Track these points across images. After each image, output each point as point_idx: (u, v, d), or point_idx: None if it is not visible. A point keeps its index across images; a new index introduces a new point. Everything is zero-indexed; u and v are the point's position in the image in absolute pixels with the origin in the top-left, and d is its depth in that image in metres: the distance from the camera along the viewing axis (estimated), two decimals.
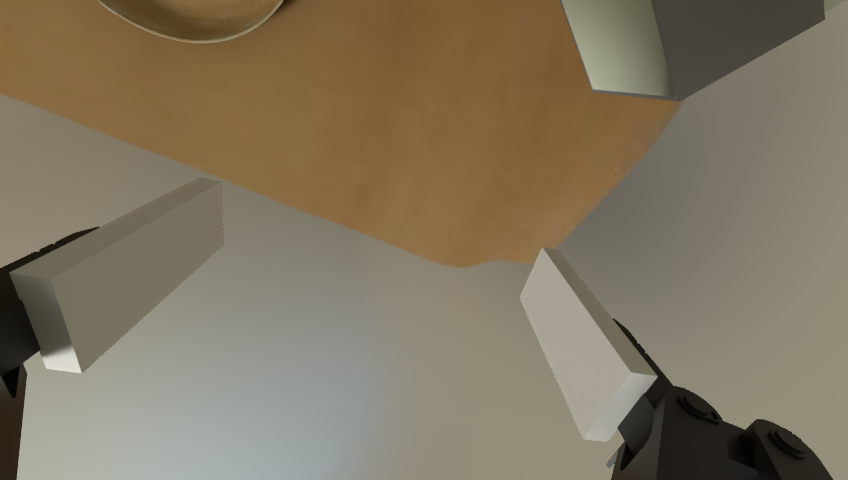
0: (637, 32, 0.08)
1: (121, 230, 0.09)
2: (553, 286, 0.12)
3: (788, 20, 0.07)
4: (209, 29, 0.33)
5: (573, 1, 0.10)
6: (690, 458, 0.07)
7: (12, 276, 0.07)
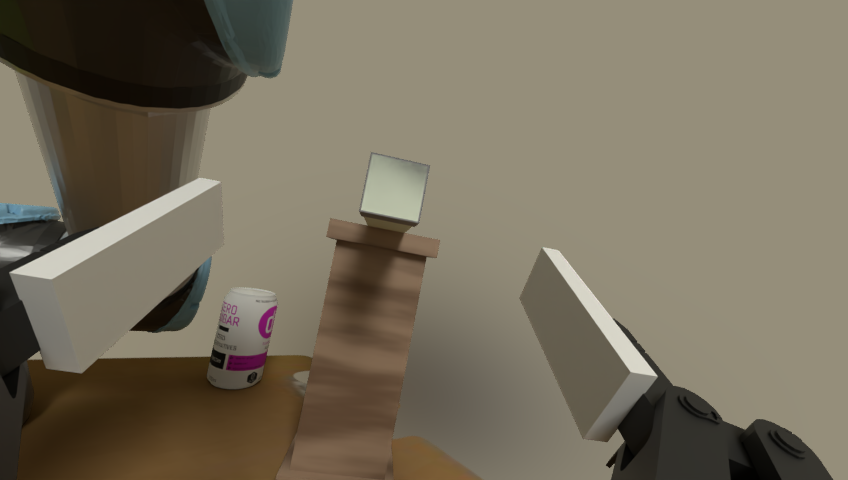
0: (404, 171, 0.23)
1: (121, 230, 0.09)
2: (553, 286, 0.12)
3: None
4: None
5: (381, 203, 0.23)
6: (690, 458, 0.07)
7: (12, 276, 0.07)
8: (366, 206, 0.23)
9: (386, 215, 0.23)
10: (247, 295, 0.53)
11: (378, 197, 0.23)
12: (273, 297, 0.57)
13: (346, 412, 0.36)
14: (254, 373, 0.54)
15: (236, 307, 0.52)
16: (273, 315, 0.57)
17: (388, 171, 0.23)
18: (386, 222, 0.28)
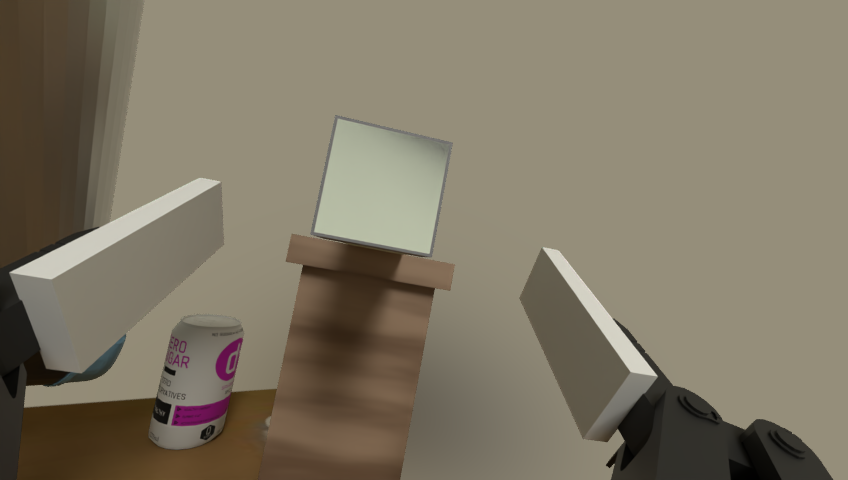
0: (403, 154, 0.12)
1: (121, 230, 0.09)
2: (553, 286, 0.12)
3: None
4: None
5: (355, 218, 0.11)
6: (690, 458, 0.07)
7: (12, 276, 0.07)
8: (325, 224, 0.11)
9: (366, 242, 0.11)
10: (201, 327, 0.41)
11: (350, 205, 0.11)
12: (237, 327, 0.45)
13: None
14: (210, 426, 0.42)
15: (185, 343, 0.41)
16: (237, 350, 0.45)
17: (371, 154, 0.12)
18: None
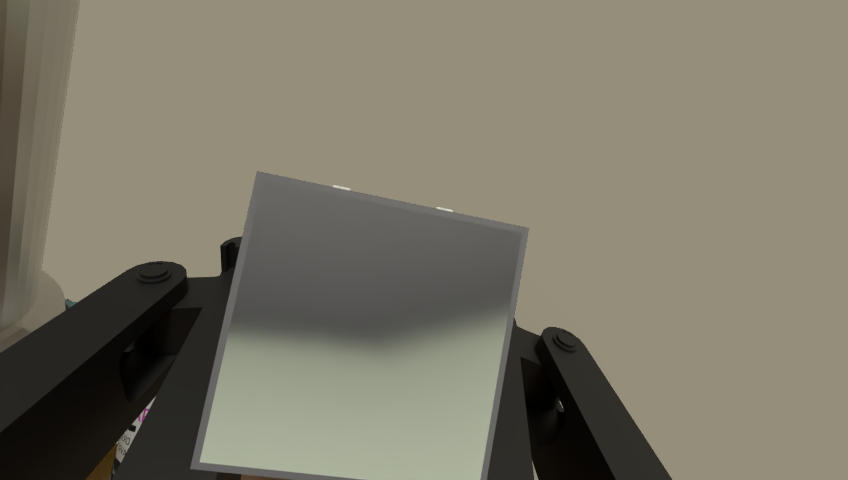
0: (416, 259, 0.05)
1: None
2: None
3: None
4: None
5: (304, 418, 0.05)
6: None
7: None
8: (229, 441, 0.05)
9: (330, 475, 0.05)
10: None
11: (291, 389, 0.05)
12: None
13: None
14: None
15: None
16: None
17: (342, 263, 0.05)
18: None
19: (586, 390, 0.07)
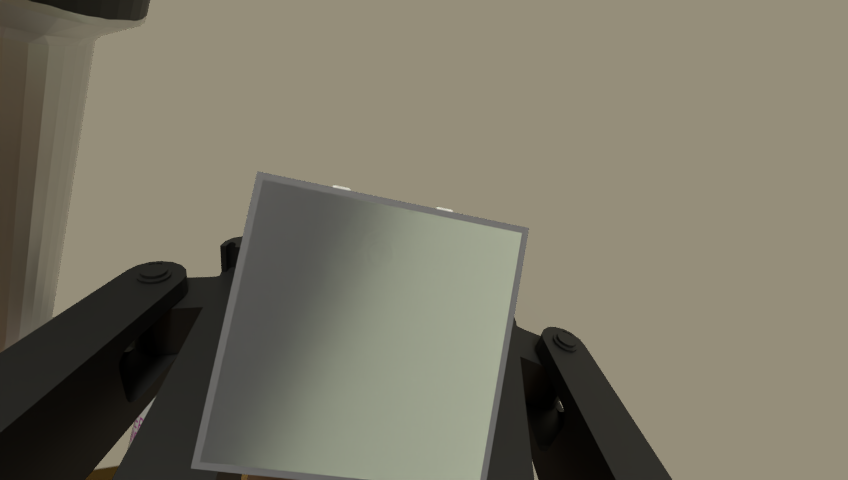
0: (417, 259, 0.05)
1: None
2: None
3: None
4: None
5: (304, 419, 0.05)
6: None
7: None
8: (229, 441, 0.05)
9: (330, 475, 0.05)
10: None
11: (291, 389, 0.05)
12: None
13: None
14: None
15: None
16: None
17: (342, 263, 0.05)
18: None
19: (586, 390, 0.07)
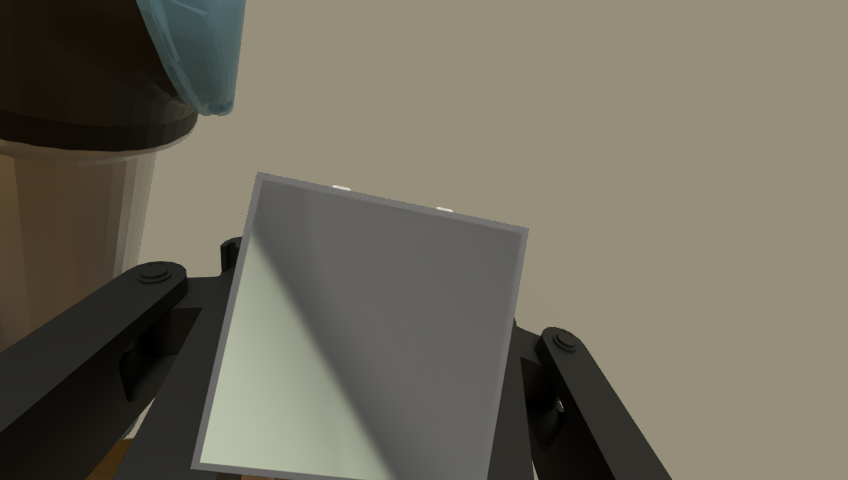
0: (417, 260, 0.05)
1: None
2: None
3: None
4: None
5: (304, 419, 0.05)
6: None
7: None
8: (229, 441, 0.05)
9: (330, 475, 0.05)
10: None
11: (290, 389, 0.05)
12: None
13: None
14: None
15: None
16: None
17: (342, 263, 0.05)
18: None
19: (586, 390, 0.07)
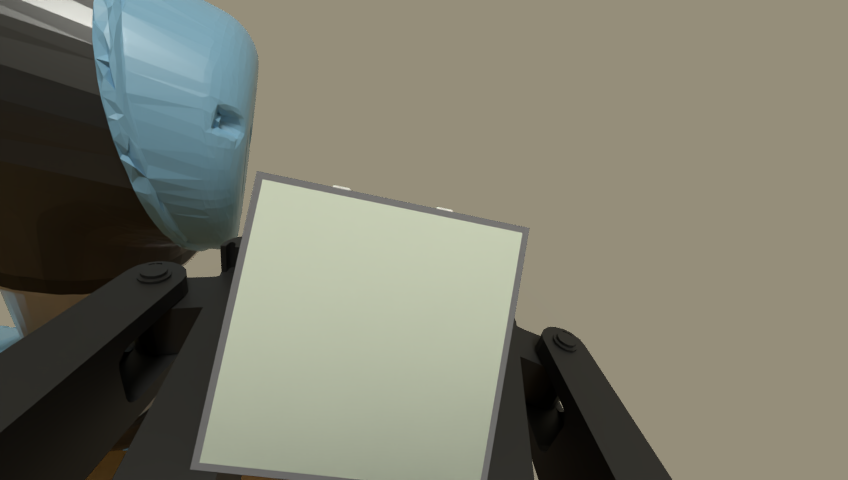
0: (417, 259, 0.05)
1: None
2: None
3: None
4: None
5: (304, 420, 0.05)
6: None
7: None
8: (229, 441, 0.05)
9: (330, 476, 0.05)
10: None
11: (290, 389, 0.05)
12: None
13: None
14: None
15: None
16: None
17: (342, 263, 0.05)
18: None
19: (586, 390, 0.07)
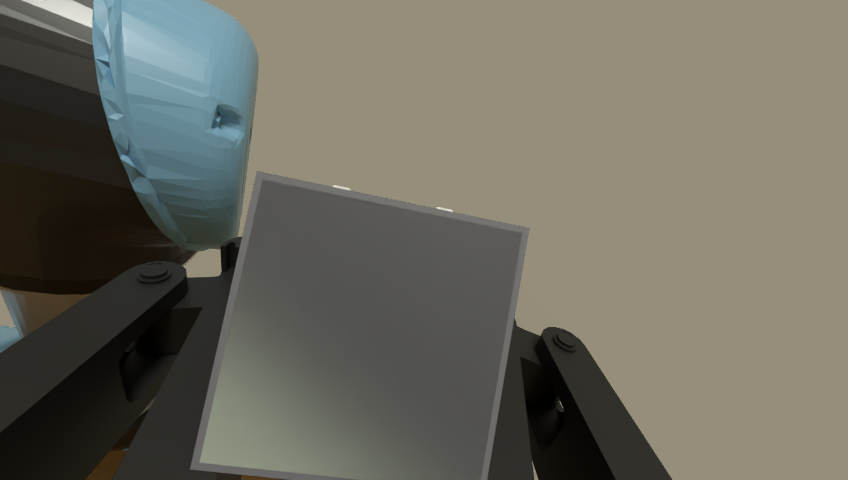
0: (417, 259, 0.05)
1: None
2: None
3: None
4: None
5: (304, 420, 0.05)
6: None
7: None
8: (229, 441, 0.05)
9: (330, 476, 0.05)
10: None
11: (290, 389, 0.05)
12: None
13: None
14: None
15: None
16: None
17: (342, 263, 0.05)
18: None
19: (586, 390, 0.07)
